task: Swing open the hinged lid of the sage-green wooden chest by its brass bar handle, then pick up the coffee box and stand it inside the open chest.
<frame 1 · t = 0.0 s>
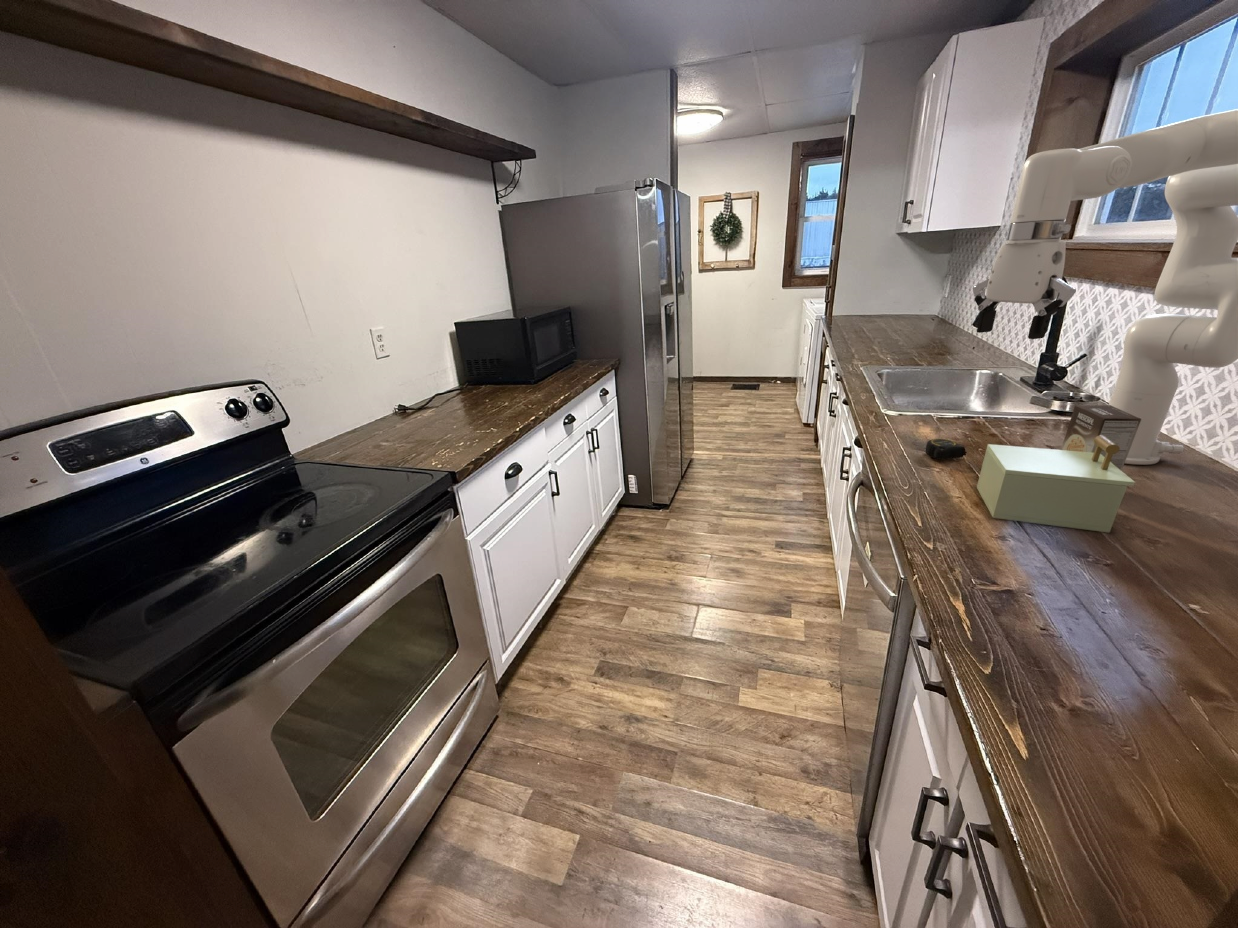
hand: (1008, 335, 92), 31 cm above the worktop, tool pointing down, fingers open, 9 cm apart
tape measure: (943, 459, 119), on the worktop
lid: (1057, 451, 90), point 12 cm above the worktop, hinge at 0.0°
coffee box: (1080, 486, 102), on the worktop
chest: (1036, 508, 95), on the worktop
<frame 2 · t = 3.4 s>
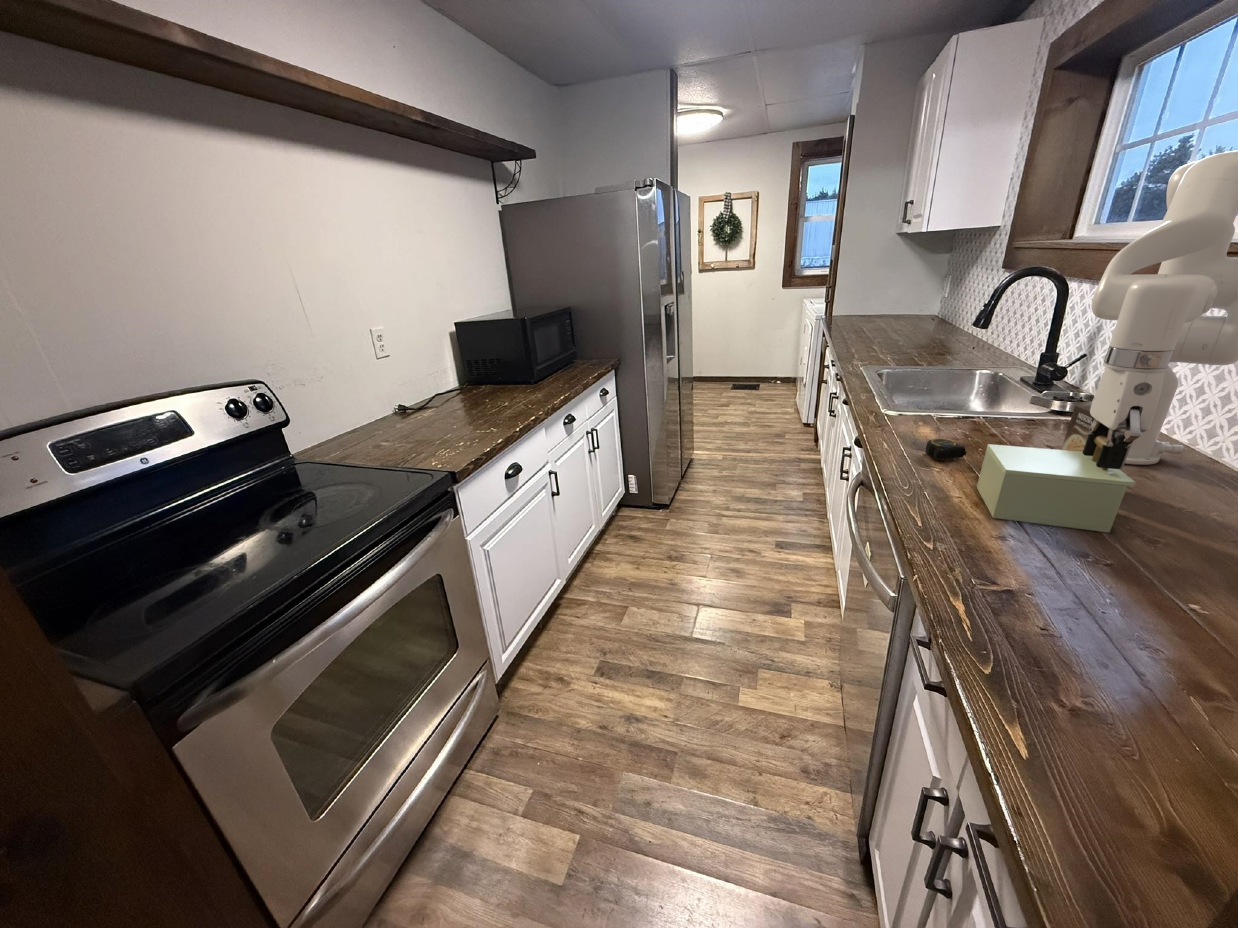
hand: (1100, 460, 88), 11 cm above the worktop, tool pointing down, fingers closed on lid, 5 cm apart
lid: (1057, 451, 90), point 12 cm above the worktop, hinge at 0.0°, touching gripper
everything else where it was.
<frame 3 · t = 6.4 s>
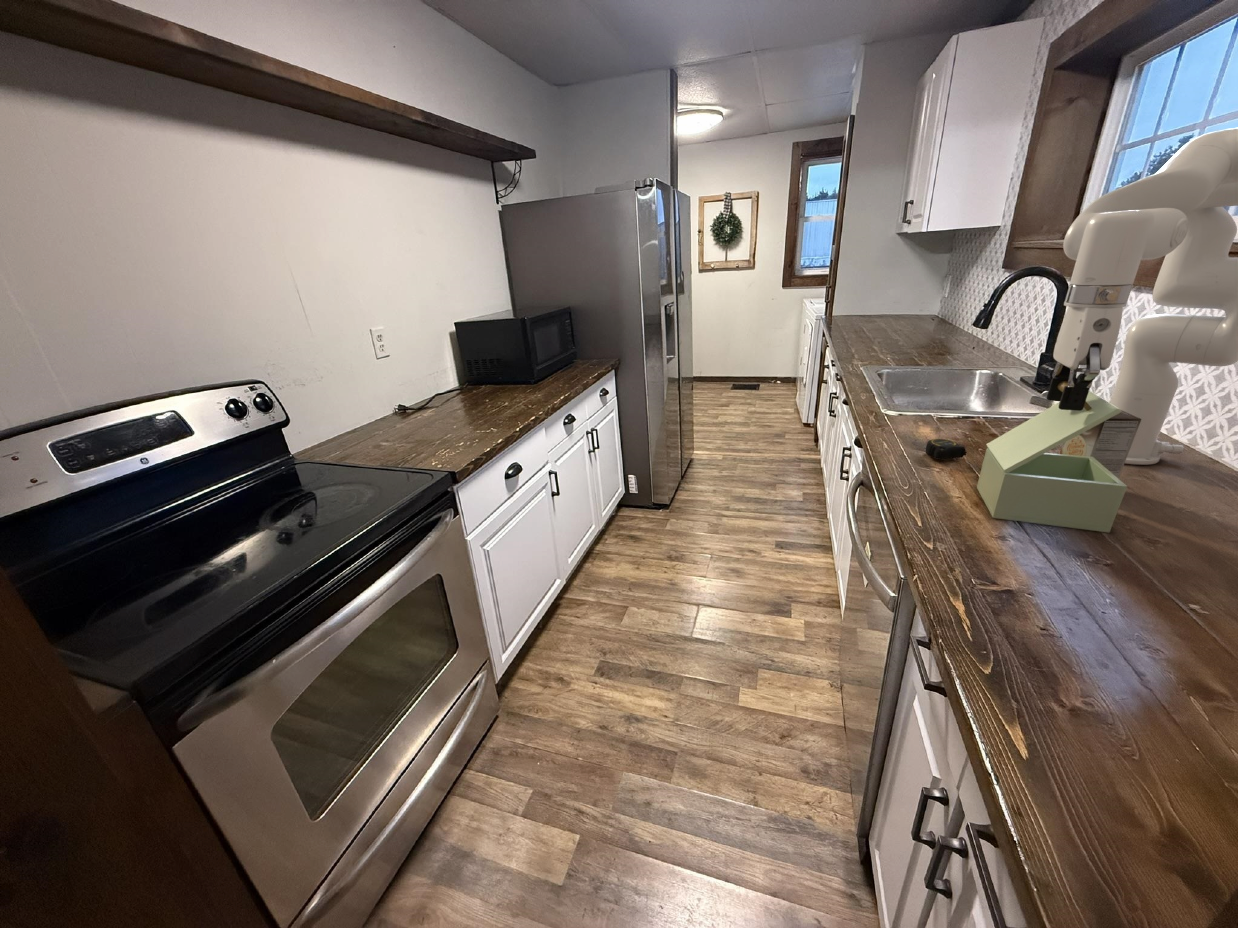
hand: (1063, 403, 87), 20 cm above the worktop, tool pointing down, fingers closed on lid, 5 cm apart
lid: (1037, 420, 89), point 17 cm above the worktop, hinge at 44.7°, touching gripper
everything else where it was.
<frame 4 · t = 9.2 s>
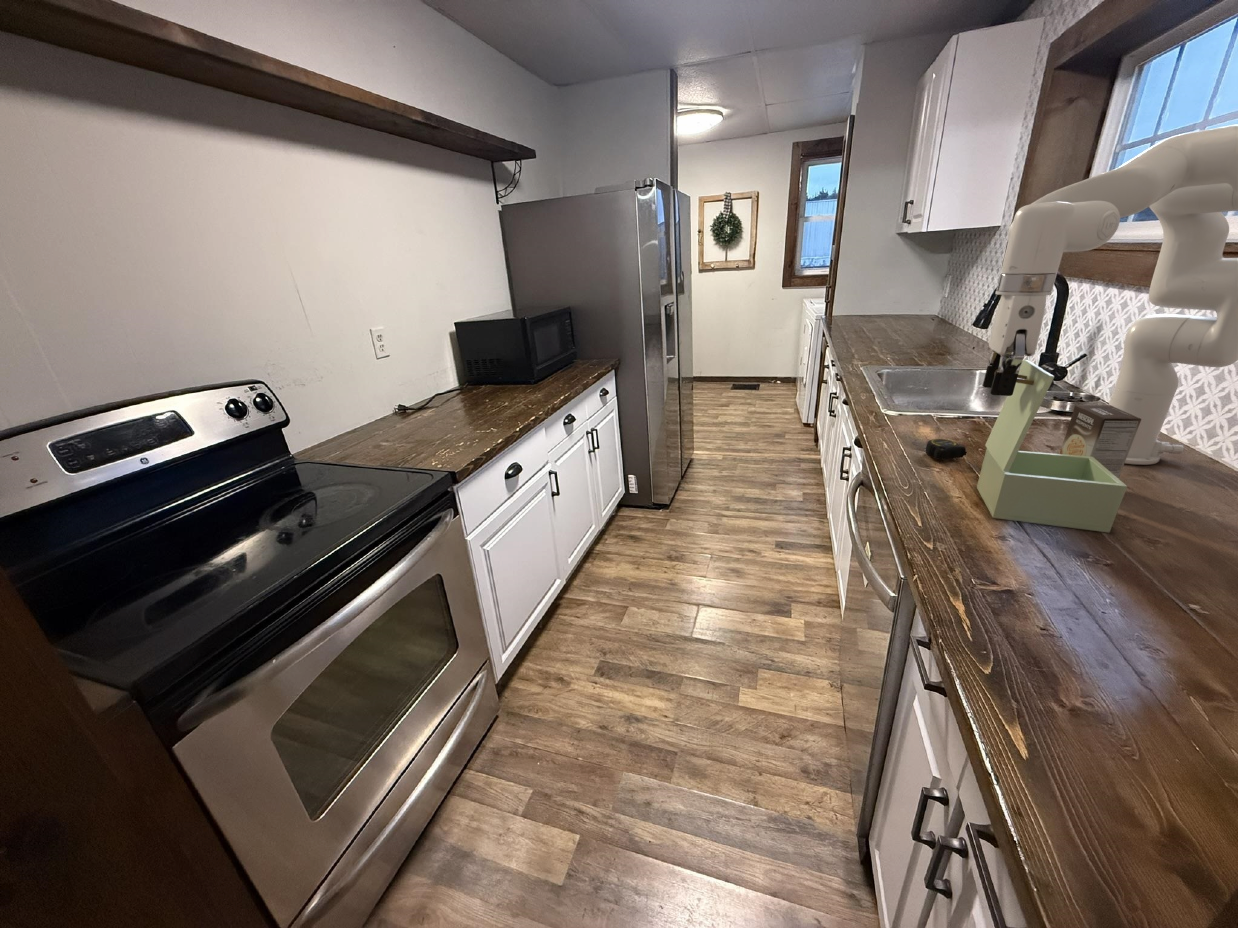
hand: (996, 390, 90), 22 cm above the worktop, tool pointing down, fingers closed on lid, 5 cm apart
lid: (1000, 411, 91), point 18 cm above the worktop, hinge at 81.5°, touching gripper
everything else where it was.
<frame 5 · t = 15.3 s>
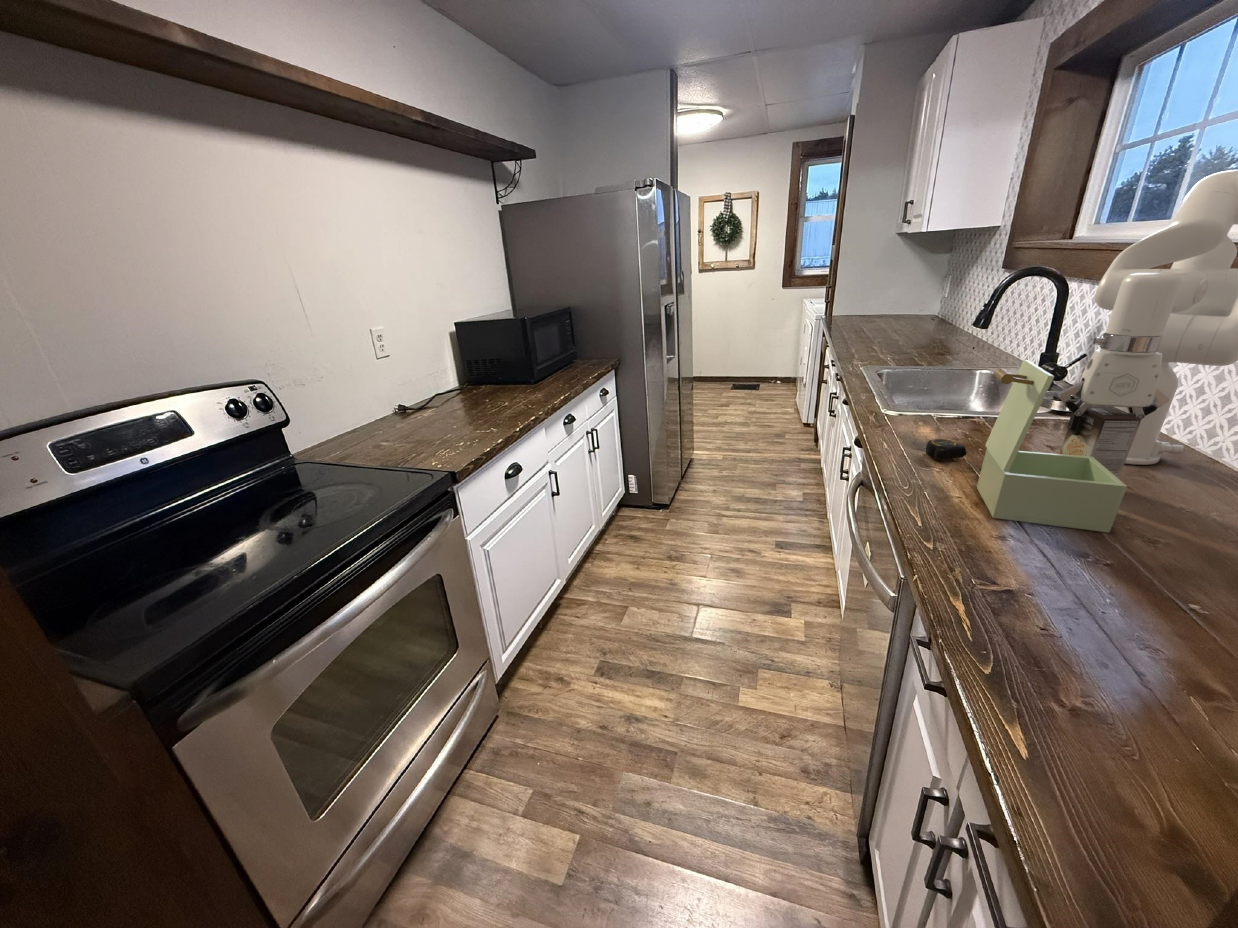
hand: (1098, 434, 98), 11 cm above the worktop, tool pointing down, fingers closed on coffee box, 7 cm apart
lid: (1000, 411, 91), point 18 cm above the worktop, hinge at 81.5°
coffee box: (1080, 486, 102), on the worktop, touching gripper
everything else where it was.
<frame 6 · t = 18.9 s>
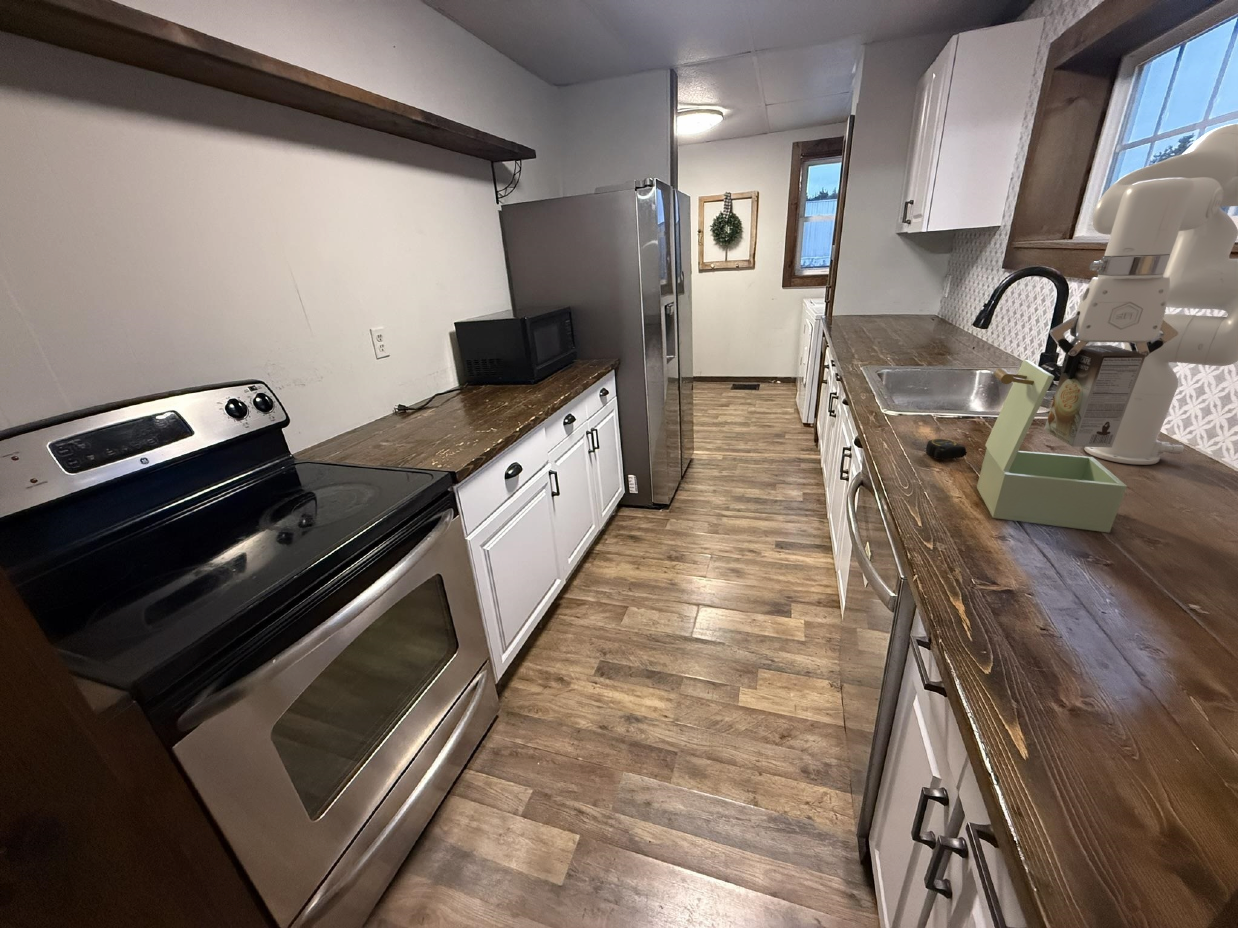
hand: (1096, 377, 85), 25 cm above the worktop, tool pointing down, fingers closed on coffee box, 7 cm apart
coffee box: (1075, 439, 90), point 14 cm above the worktop, touching gripper
everything else where it was.
when the fingers open (12 cm above the worktop, at t = 23.0 s): coffee box stays where it is, resting on chest.
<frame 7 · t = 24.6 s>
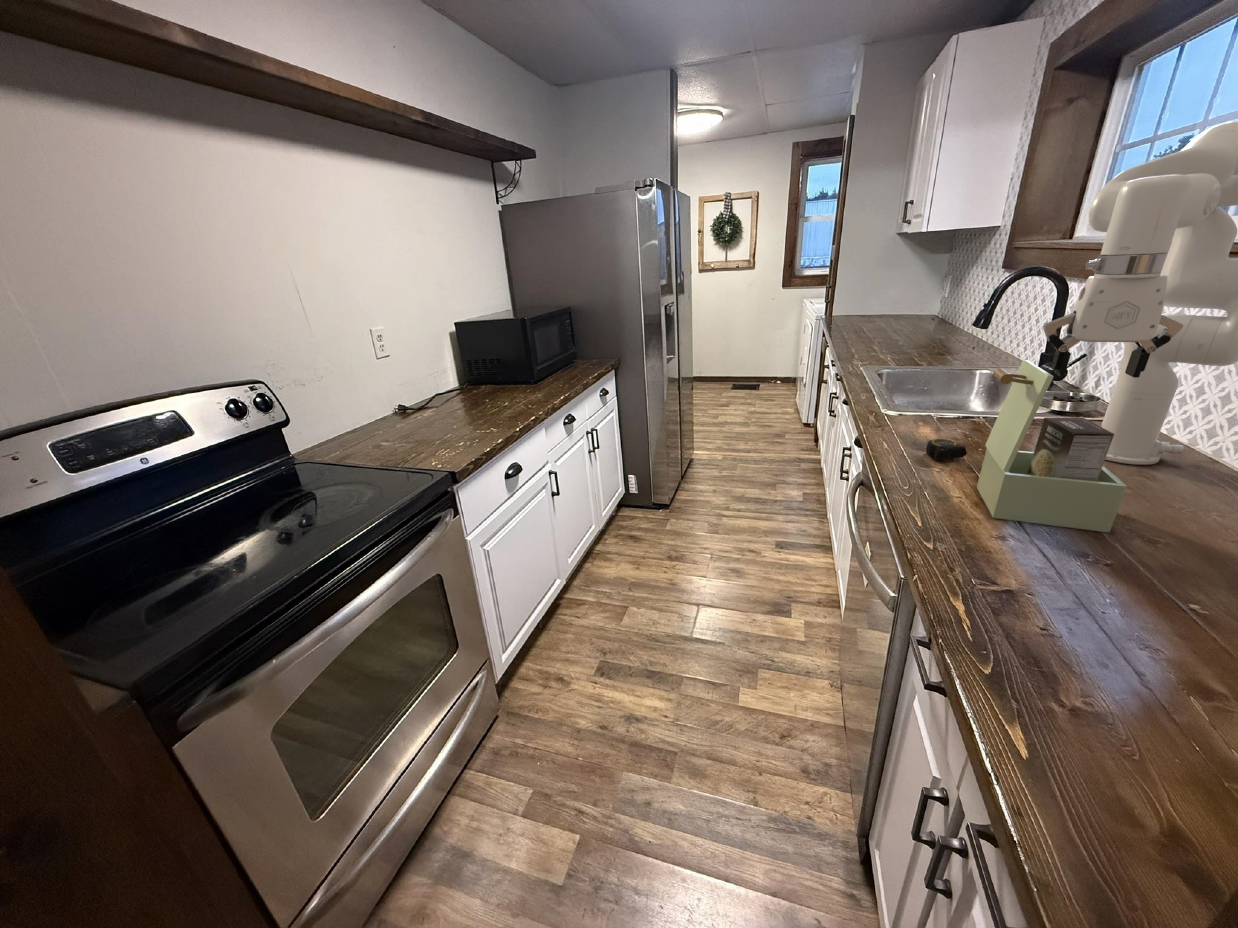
hand: (1094, 374, 84), 26 cm above the worktop, tool pointing down, fingers open, 9 cm apart
lid: (1000, 411, 91), point 18 cm above the worktop, hinge at 81.9°
coffee box: (1051, 506, 94), point 1 cm above the worktop, touching chest
everything else where it was.
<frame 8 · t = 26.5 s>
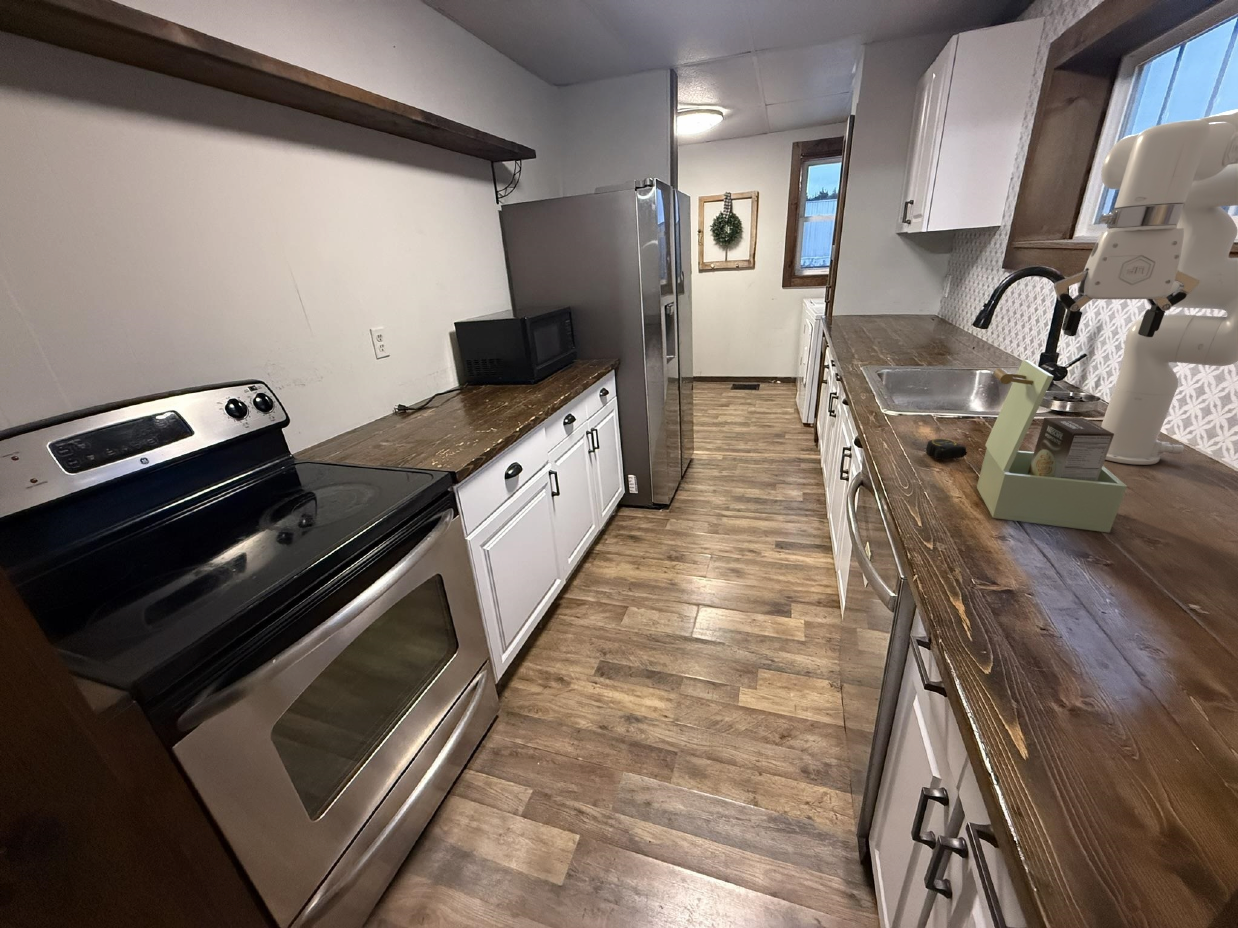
hand: (1106, 335, 81), 32 cm above the worktop, tool pointing down, fingers open, 9 cm apart
nothing on the worktop moved.
at the end: lid at +82° (first picture: +0°); coffee box inside the target area in the chest (2.1 cm from its centre), point 0.7 cm above the chest's base; coffee box tilted 0° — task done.
